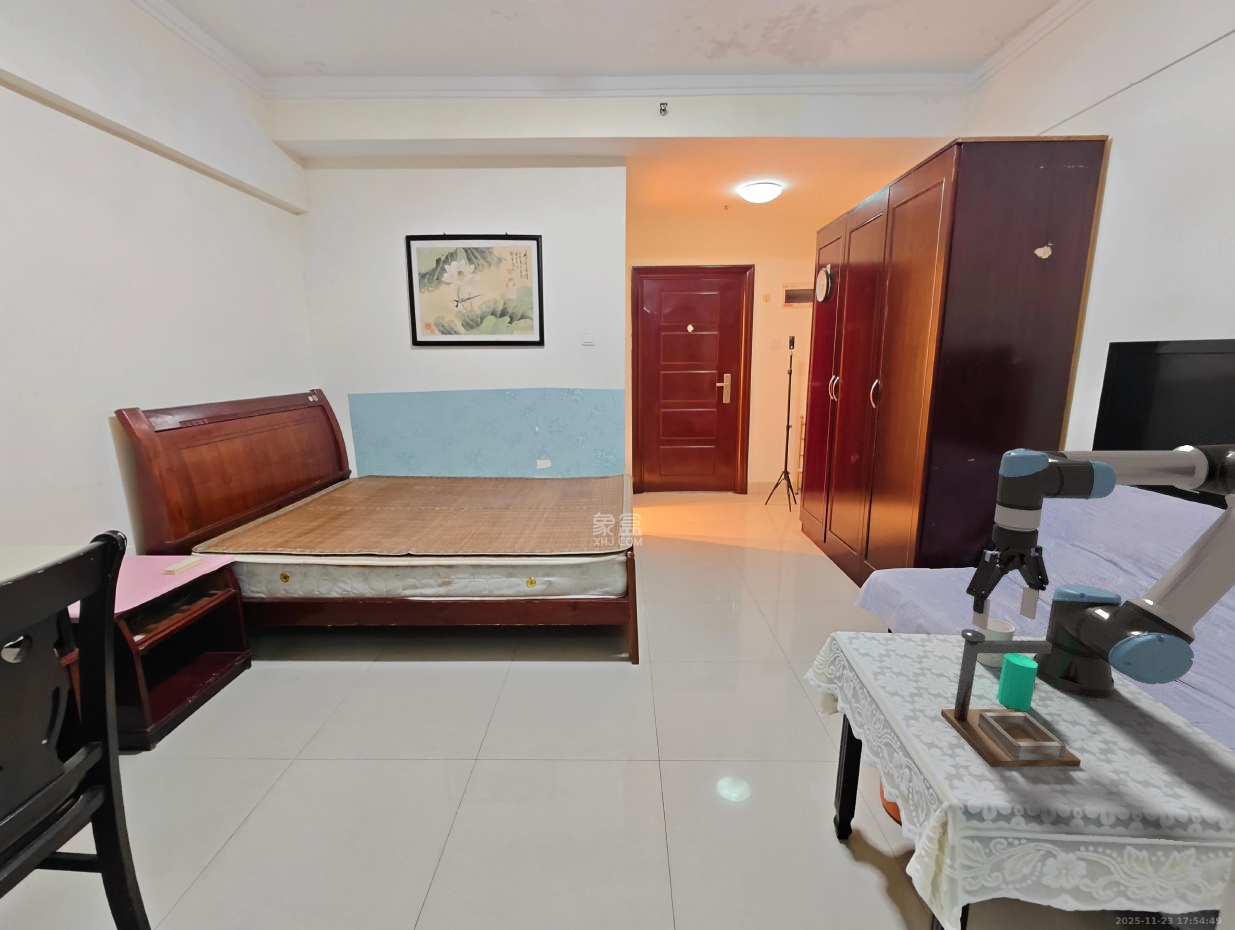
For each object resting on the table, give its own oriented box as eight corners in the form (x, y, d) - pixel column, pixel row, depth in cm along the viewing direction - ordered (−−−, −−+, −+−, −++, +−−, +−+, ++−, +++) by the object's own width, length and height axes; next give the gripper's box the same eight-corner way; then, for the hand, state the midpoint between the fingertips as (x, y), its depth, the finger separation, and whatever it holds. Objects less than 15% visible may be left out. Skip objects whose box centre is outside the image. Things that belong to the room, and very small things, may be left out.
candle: (1008, 710, 116) (1017, 660, 113) (990, 693, 121) (998, 645, 119) (1037, 711, 115) (1046, 661, 113) (1017, 694, 121) (1026, 646, 119)
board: (1018, 714, 114) (1021, 696, 114) (1079, 766, 100) (1083, 746, 99) (940, 714, 114) (943, 696, 113) (991, 766, 99) (994, 746, 98)
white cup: (1015, 671, 131) (1021, 633, 129) (979, 667, 132) (985, 630, 130) (999, 654, 138) (1005, 618, 136) (965, 650, 140) (971, 615, 138)
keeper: (1027, 710, 113) (1042, 629, 110) (1042, 723, 109) (1059, 639, 106) (944, 710, 113) (957, 629, 109) (957, 723, 109) (970, 639, 105)
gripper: (1041, 515, 116) (1028, 605, 120) (952, 526, 109) (942, 622, 113) (1079, 524, 109) (1064, 620, 113) (987, 538, 102) (975, 639, 106)
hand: (1003, 621), depth 113 cm, fingers open, 13 cm apart
